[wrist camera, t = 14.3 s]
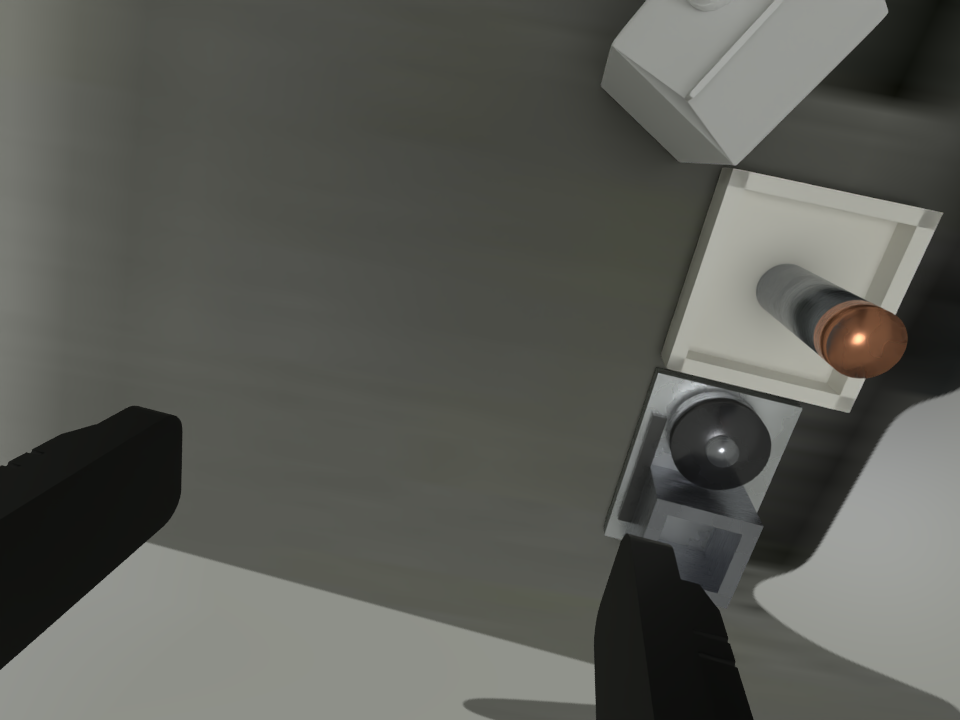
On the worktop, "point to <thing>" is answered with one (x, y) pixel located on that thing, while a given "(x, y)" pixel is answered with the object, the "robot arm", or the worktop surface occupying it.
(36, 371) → the worktop surface
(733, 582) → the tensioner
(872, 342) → the lock pin
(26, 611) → the robot arm
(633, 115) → the milk carton
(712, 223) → the tray
